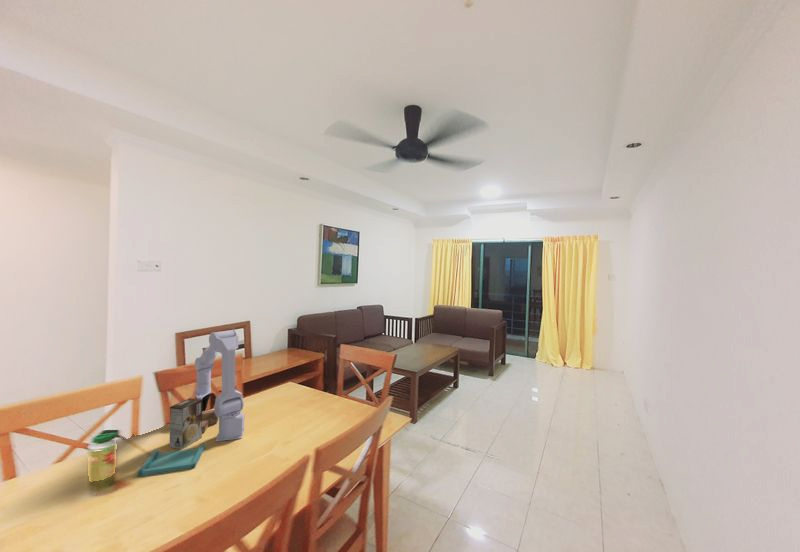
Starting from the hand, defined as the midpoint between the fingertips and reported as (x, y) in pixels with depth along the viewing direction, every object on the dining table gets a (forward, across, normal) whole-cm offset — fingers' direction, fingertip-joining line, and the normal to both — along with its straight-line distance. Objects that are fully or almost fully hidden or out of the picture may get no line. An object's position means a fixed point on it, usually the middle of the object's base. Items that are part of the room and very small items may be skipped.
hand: (203, 410), depth 145 cm
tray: (+2, +36, 0) cm, 36 cm away
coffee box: (+3, +24, 0) cm, 24 cm away
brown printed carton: (+2, +12, 0) cm, 13 cm away
